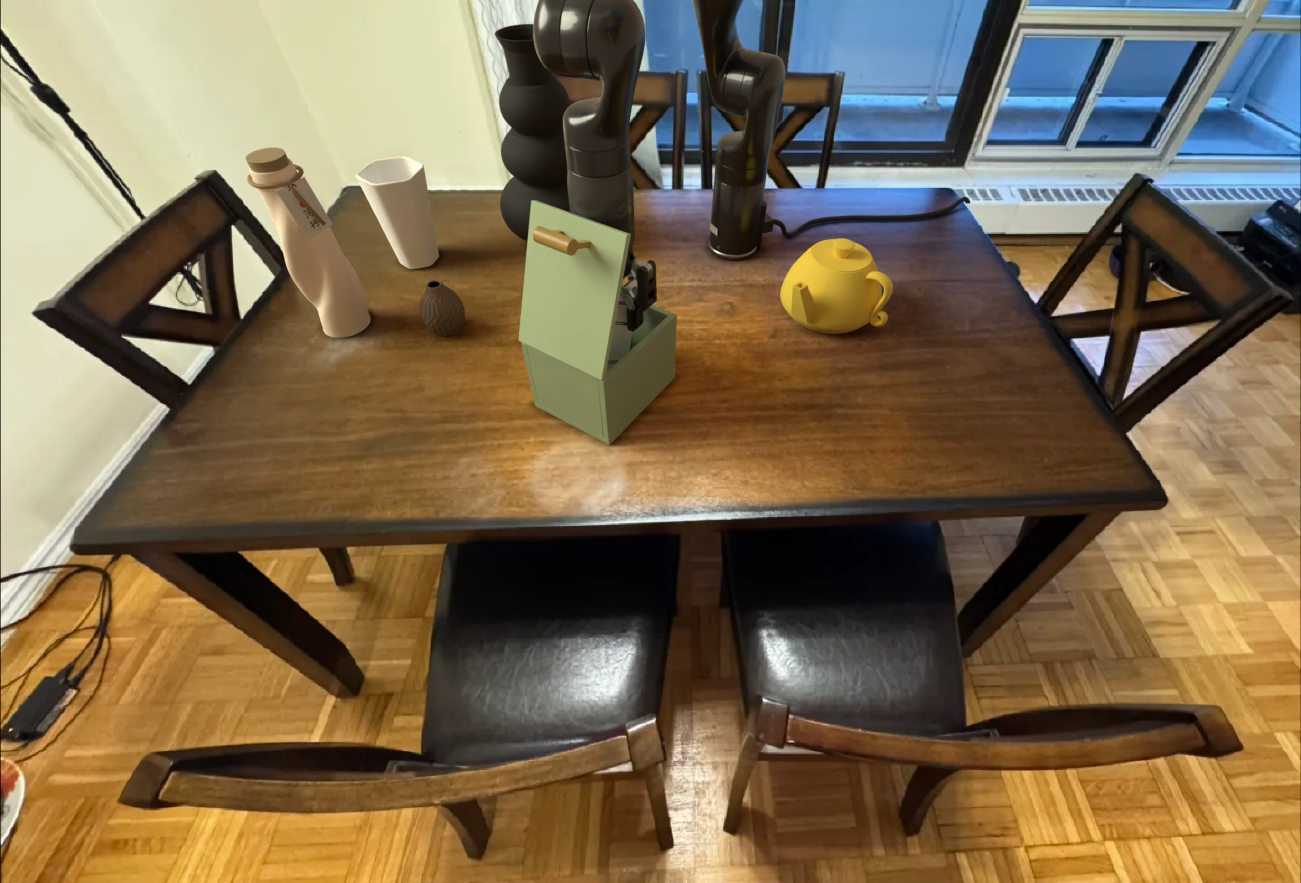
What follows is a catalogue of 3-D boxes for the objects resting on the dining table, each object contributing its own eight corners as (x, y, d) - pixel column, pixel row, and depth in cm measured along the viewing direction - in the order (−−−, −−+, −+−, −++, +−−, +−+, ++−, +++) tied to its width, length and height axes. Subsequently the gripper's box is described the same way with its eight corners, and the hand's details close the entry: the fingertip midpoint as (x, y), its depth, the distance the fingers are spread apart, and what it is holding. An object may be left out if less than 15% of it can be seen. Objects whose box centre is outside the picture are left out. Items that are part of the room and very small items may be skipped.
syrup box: (622, 394, 84) (643, 297, 77) (582, 393, 82) (600, 293, 75) (609, 377, 89) (628, 283, 82) (572, 375, 86) (588, 279, 79)
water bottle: (392, 314, 101) (324, 147, 80) (359, 346, 96) (276, 175, 75) (343, 303, 104) (264, 137, 83) (308, 333, 98) (213, 163, 77)
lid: (535, 200, 69) (505, 201, 65) (631, 234, 64) (603, 237, 60) (522, 339, 78) (494, 347, 74) (605, 379, 72) (580, 390, 69)
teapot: (814, 271, 109) (829, 206, 100) (906, 315, 101) (932, 248, 91) (746, 318, 100) (756, 250, 91) (840, 370, 91) (862, 302, 82)
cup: (446, 241, 117) (421, 153, 105) (452, 267, 111) (425, 177, 98) (388, 250, 115) (355, 162, 102) (390, 278, 109) (355, 187, 96)
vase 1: (433, 346, 96) (416, 301, 89) (423, 323, 100) (406, 278, 93) (474, 334, 98) (461, 289, 91) (463, 311, 102) (449, 267, 95)
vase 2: (492, 256, 114) (443, 45, 87) (527, 210, 125) (493, 13, 99) (583, 268, 111) (560, 54, 84) (610, 220, 122) (597, 19, 96)
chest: (603, 345, 96) (598, 282, 87) (674, 377, 90) (677, 314, 82) (534, 405, 87) (520, 342, 78) (609, 445, 81) (603, 382, 72)
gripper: (670, 206, 67) (668, 321, 80) (574, 175, 73) (586, 287, 85) (632, 234, 63) (636, 351, 76) (534, 199, 69) (552, 313, 81)
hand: (609, 317), depth 80 cm, fingers closed on syrup box, 7 cm apart
